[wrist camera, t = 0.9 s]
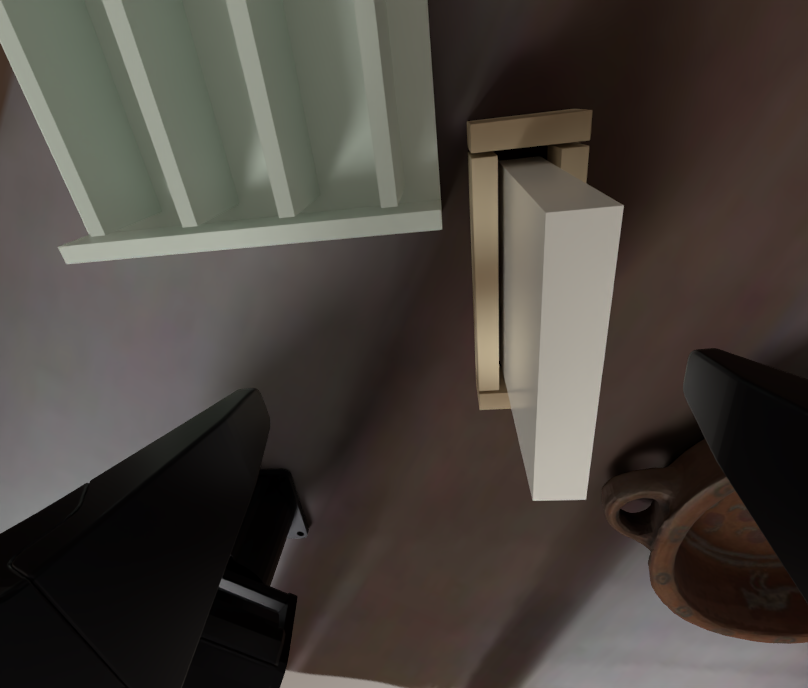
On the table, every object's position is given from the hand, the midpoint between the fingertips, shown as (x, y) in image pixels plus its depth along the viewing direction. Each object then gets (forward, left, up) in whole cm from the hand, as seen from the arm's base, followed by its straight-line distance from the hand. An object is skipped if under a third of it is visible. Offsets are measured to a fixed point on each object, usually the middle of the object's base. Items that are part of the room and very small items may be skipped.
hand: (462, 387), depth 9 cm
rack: (+8, +9, -13) cm, 18 cm away
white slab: (-2, -3, -13) cm, 14 cm away
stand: (-2, -3, -13) cm, 14 cm away
